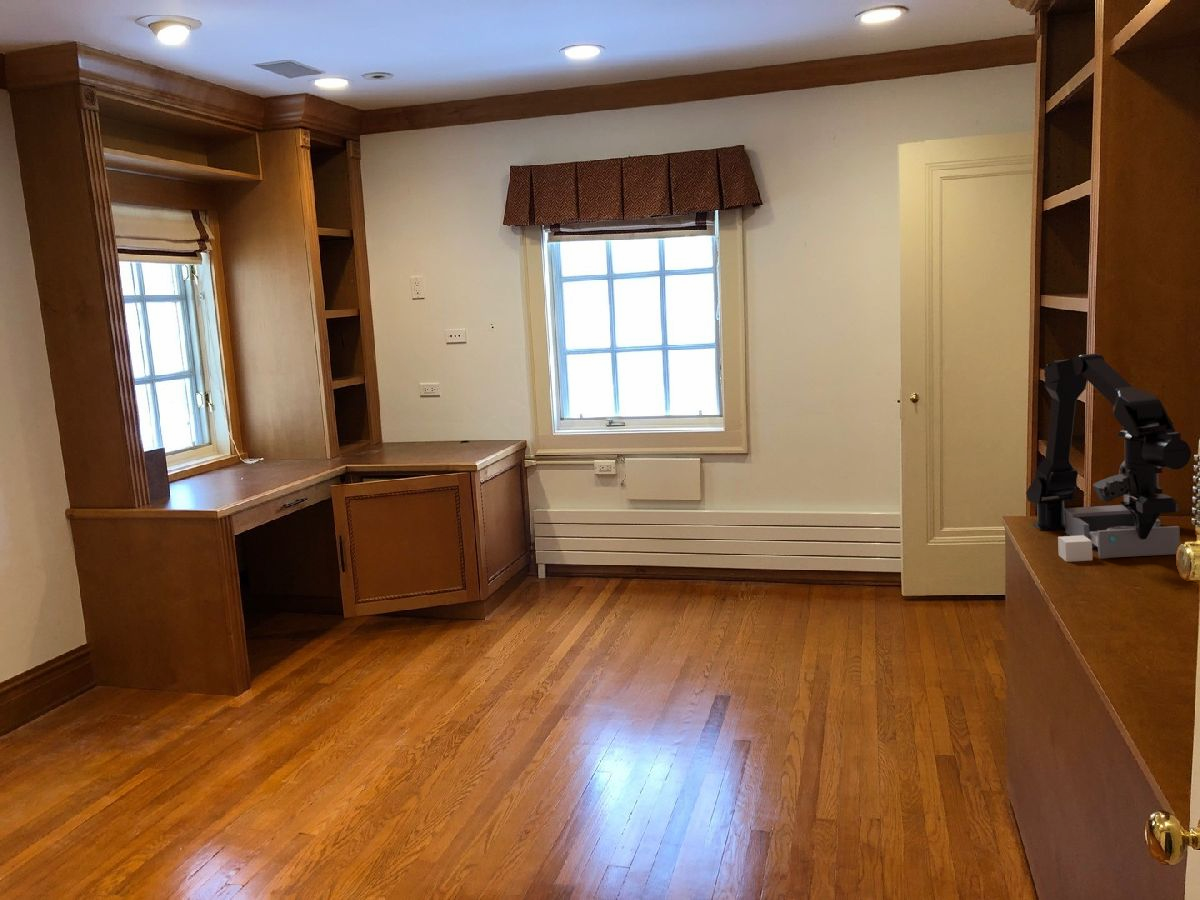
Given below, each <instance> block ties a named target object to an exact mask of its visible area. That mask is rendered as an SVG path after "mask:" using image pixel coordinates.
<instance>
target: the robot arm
mask: <svg viewBox="0 0 1200 900" xmlns="http://www.w3.org/2000/svg"><path fill="white" fill-rule="evenodd" d="M1043 376H1044V387H1045V389H1046V390H1047V392H1048V394H1049V396H1050V397H1051V399H1050V410H1049V419H1048V429H1047V437H1046V448H1045V456H1044V458H1043V460H1042V461H1041V462H1040V464H1039V465H1037V467H1036V468H1035V469H1036V470H1035V474H1034V479H1033V481H1032V482H1031V484H1030V485H1029V487H1028V488H1027V490H1026V498H1027V501H1028V502H1031V503H1033V504H1036V513H1037V514H1036V515H1037V521H1032V525H1033V526H1035V527H1036V528H1037V529H1039V530H1040V531H1047V530H1062V529H1063V530H1065V510H1064V508H1065V501H1073V500H1074V495H1075V492H1076V491H1075V490H1076V488H1077V487H1078V484H1077V480H1078V476H1079V475H1078V474H1079V473H1078V470H1077V469H1075V468H1074V467H1073V465H1072V463H1071V461H1070V457H1071V456H1070V455H1071V446H1072V440H1073V439H1072V438H1073V429H1074V423H1075V422H1074V420H1075V413H1076V403H1077V400H1078V398H1080V396H1081V395H1082V393H1083V392H1084V391H1085V389H1086V388H1087V383H1088V382H1089V383H1090V384H1091V386H1093V387H1094V388H1095V389H1096V390H1097V391H1098V392H1099V393H1100V394H1101V395H1102V396H1103V397H1104V398H1105V400H1106V399H1107V401H1108V402H1109V403H1110V404H1111V405H1112V407H1113V408H1112V415H1113V416H1114V417H1115V419H1116V420H1117V421H1118V423H1119V424H1120V426H1121V427H1122V428H1123V429H1122V430H1120V431H1119V432H1118V433H1117V437H1119V438H1123V439H1124V440H1123V441H1124V443H1123V444H1124V445H1123V447H1124V460H1125V465H1123V466H1121V465H1120V466H1121V468H1120V467H1119V470H1120V474H1119V473H1118V474H1115V475H1111V476H1109V477H1107V478H1104V479H1101V480H1099V481H1096V482H1094V483H1093V484H1092V486H1093V489H1094V491H1095V493H1096V496H1097V498H1098V500H1101V501H1102V502H1103V503H1109V502H1112V501H1113V500H1115V499H1118V498H1119V497H1123V495H1124V502H1123V501H1120V502H1119V503H1120V505H1123V506H1124V507H1126V508H1127V509H1128V510H1129V511H1130V512H1131V515H1132V518H1133V521H1134V524H1135V527H1136V530H1137V533H1138V537H1139V538H1140V539H1146V538H1147V537H1148V535H1149V533H1150V531H1151V529H1152V527H1153V525H1154V524H1155V522H1156V520H1157V519H1158V518H1159V517H1160V515H1161V514H1170V513H1172V514H1173V513H1178V511H1179V509H1178V508H1179V503H1178V501H1177V500H1176V499H1175V498H1173V496H1170V495H1168V494H1166V493H1165V494H1164V493H1163V488H1162V487H1161V486H1159V474H1162V473H1163V468H1165V469H1171V470H1180V469H1183V468H1184V467H1186V466H1187V464H1188V463H1189V461H1190V459H1191V457H1192V449H1190V446H1189V444H1188V443H1187V442H1186V441H1185V440H1183V439H1182V437H1181V436H1182V435H1181V432H1178V431H1177V432H1176V429H1175V427H1174V423H1173V421H1172V420H1171V418H1170V417H1169V415H1168V412H1167V411H1166V409H1165V406H1164V404H1163V403H1162V401H1161V400H1160V399H1159V398H1158V397H1156V396H1154V395H1152V393H1149V392H1148V391H1145V390H1141V389H1138V388H1136V387H1134V386H1132V385H1131V384H1130V383H1129V382H1128V381H1127V380H1125V378H1123V376H1121V375H1120V373H1118V372H1117V371H1116V370H1115V369H1114V368H1113V367H1112V366H1111V365H1110V364H1109V363H1108V362H1106V361H1105V357H1104V356H1103V355H1102V354H1100V353H1086V354H1080V355H1078V356H1075V357H1073V358H1072V357H1071V358H1070V359H1061V360H1053V361H1050V362H1049V363H1048V364H1046V366H1045V369H1044V372H1043Z"/></svg>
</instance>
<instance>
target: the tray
mask: <svg viewBox="0 0 1200 900" xmlns="http://www.w3.org/2000/svg"><path fill="white" fill-rule="evenodd" d="M1180 532H1181V530H1180V526H1178V525H1172V526H1171V525H1170V526H1161V527H1152V529H1151V531H1150V533H1149V535H1148V537H1147V538H1146V539H1140V538H1139V537H1138V533H1137V530H1136V528H1132V529H1115V530H1098V531H1096V532H1089V539H1090V540H1091V541H1092V543H1093V544H1094V545H1095V546H1097V547H1096V548H1097V555H1098V558H1099V559H1108V558H1109V559H1110V558H1124V557H1129V558H1131V557H1145V556H1147V557H1148V556H1162V555H1163V556H1165V555H1168V556H1169V555H1177V554H1176V548H1177V546H1178V545H1179V544H1180V545H1181V539H1180V538H1181V535H1180V534H1181V533H1180Z"/></svg>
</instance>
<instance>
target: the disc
mask: <svg viewBox="0 0 1200 900" xmlns="http://www.w3.org/2000/svg"><path fill="white" fill-rule="evenodd" d="M1132 528H1136V527H1134V526H1116V527H1110V528H1108V529H1107V530H1115V529H1132Z"/></svg>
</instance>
